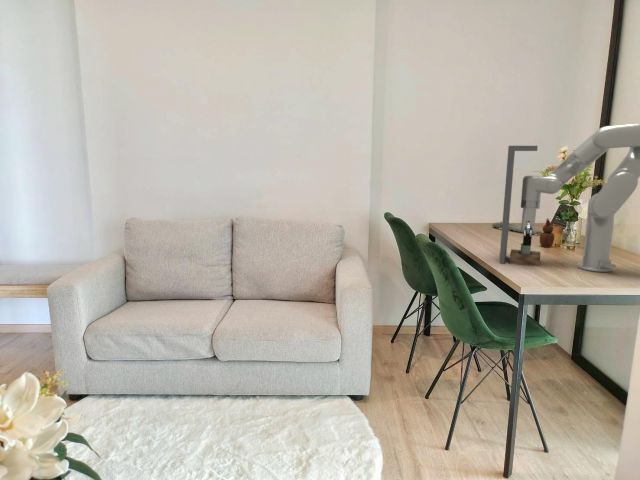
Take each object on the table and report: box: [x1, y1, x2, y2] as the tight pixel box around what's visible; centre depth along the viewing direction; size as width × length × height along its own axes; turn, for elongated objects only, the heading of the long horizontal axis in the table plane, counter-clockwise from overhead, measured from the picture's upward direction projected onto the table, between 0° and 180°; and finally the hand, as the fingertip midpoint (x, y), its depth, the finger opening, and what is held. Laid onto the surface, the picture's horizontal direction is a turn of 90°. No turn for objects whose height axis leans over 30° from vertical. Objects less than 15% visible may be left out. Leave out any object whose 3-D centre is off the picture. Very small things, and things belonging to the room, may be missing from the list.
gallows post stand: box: [499, 145, 538, 264], centre depth 208 cm, size 11×16×50 cm
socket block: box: [508, 248, 541, 267], centre depth 211 cm, size 12×12×4 cm
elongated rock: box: [492, 221, 543, 236], centre depth 295 cm, size 35×5×10 cm
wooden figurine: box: [539, 218, 555, 248], centre depth 245 cm, size 7×6×15 cm
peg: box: [520, 242, 532, 254], centre depth 210 cm, size 4×4×8 cm
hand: (527, 243), depth 209 cm, fingers open, 9 cm apart
